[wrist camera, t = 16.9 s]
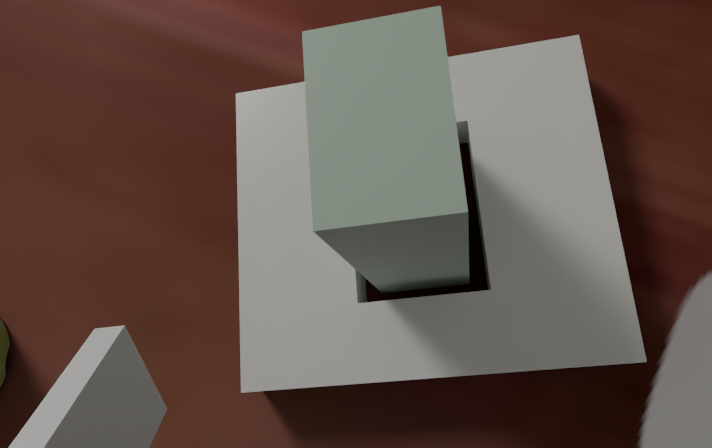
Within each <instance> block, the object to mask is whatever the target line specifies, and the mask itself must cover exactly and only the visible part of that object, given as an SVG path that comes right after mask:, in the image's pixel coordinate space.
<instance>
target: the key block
mask: <svg viewBox="0 0 712 448" xmlns="http://www.w3.org/2000/svg"><path fill="white" fill-rule="evenodd" d="M302 40H303V58H304V76H305V94H306V112H307V130H308V149H309V167H310V185H311V203H312V221H313V232H314V233H316V234H317V235H318V236H319V237H320V238H321V239H322V240H323V241H325V242H326V243H327V244H328V245H329V246H330V247H331V248H332V249H333V250H335V251H336V252H337V253H338V254H339V255H340V256H341V257H342V258H344V259H345V260H346V261H347V262H348V263H349V264H350V265H351V266H353V267H354V268H355V269H356V270H357V271H358V272H359V273H360V274H362V275H363V276H364V277H365V278H366V279H367V280H368V281H369V282H370V283H372V284H373V285H374V286H375V287H376V288H377V289H378V290H379V291H381V292H382V293H386V292H396V291H406V290H415V289H425V288H435V287H444V286H454V285H464V284H469V228H468V206H467V199H466V192H465V184H464V177H463V169H462V162H461V154H460V147H459V139H458V132H457V124H456V117H455V109H454V102H453V94H452V87H451V80H450V72H449V65H448V57H447V50H446V42H445V35H444V27H443V20H442V12H441V6H436V7H431V8H426V9H420V10H415V11H410V12H404V13H399V14H394V15H388V16H383V17H378V18H372V19H367V20H362V21H356V22H351V23H346V24H340V25H335V26H330V27H324V28H319V29H314V30H308V31H303V32H302Z"/></svg>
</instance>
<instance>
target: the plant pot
mask: <svg viewBox="0 0 712 448" xmlns="http://www.w3.org/2000/svg"><path fill="white" fill-rule="evenodd" d="M9 347H10V340H9V335H8V333H7V330H6V327H5V325H4V323H3V322H2V320H1V319H0V388H1V386H2V384H3V382H4V379H5V377H6V370H5V365H6V358H7V353H8V350H9Z"/></svg>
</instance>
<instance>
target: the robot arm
mask: <svg viewBox="0 0 712 448" xmlns="http://www.w3.org/2000/svg"><path fill="white" fill-rule="evenodd" d="M166 411H167V408H166V406H165V404H164V402H163V400H162V398H161V396H160V394H159V392H158V390H157V388H156V386H155V384H154V382H153V380H152V378H151V376H150V374H149V372H148V370H147V368H146V366H145V364H144V362H143V360H142V358H141V356H140V355H139V353H138V351H137V349H136V347H135V345H134V343H133V341H132V339H131V337H130V335H129V333H128V331H127V329H126V327H125V325H124V326H115V327H105V328H96V329H94V330H93V332H92V333H91V334H90V336H89V337H88V338H87V340H86V341H85V343H84V344H83V345H82V347H81V348H80V350H79V351H78V352H77V354H76V355H75V356H74V358H73V359H72V361H71V362H70V363H69V365H68V366H67V367H66V369H65V370H64V372H63V373H62V374H61V376H60V377H59V378H58V380H57V381H56V383H55V384H54V385H53V387H52V388H51V389H50V391H49V392H48V394H47V395H46V396H45V398H44V399H43V400H42V402H41V403H40V405H39V406H38V407H37V409H36V410H35V412H34V413H33V414H32V416H31V417H30V418H29V420H28V421H27V423H26V424H25V425H24V427H23V428H22V429H21V431H20V432H19V434H18V435H17V436H16V438H15V439H14V440H13V442H12V443H11V445H10V446H9V447H8V448H149V447H150V445H151V443H152V440H153V438H154V436H155V434H156V432H157V430H158V428H159V426H160V423H161V421H162V419H163V417H164V415H165V413H166Z"/></svg>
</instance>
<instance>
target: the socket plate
mask: <svg viewBox="0 0 712 448" xmlns="http://www.w3.org/2000/svg"><path fill="white" fill-rule="evenodd" d="M448 65H449V72H450V80H451V87H452V94H453V102H454V109H455V117H456V124H457V132H458V139H459V144H462V143H468V148H469V156H470V163H471V170H472V177H473V185H474V192H475V199H476V206H477V213H478V221H479V228H480V235H481V242H482V250H483V257H484V264H485V271H486V279H487V286H488V290H484V291H474V292H464V293H455V294H445V295H435V296H425V297H415V298H405V299H395V300H385V301H375V302H367V291H366V278H365V277H364V276H363V275H362V274H360V273H359V272H358V271H357V270H356V269H355V268H354V267H353V266H351V265H350V264H349V263H348V262H347V261H346V260H345V259H344V258H342V257H341V256H340V255H339V254H338V253H337V252H336V251H335V250H333V249H332V248H331V247H330V246H329V245H328V244H327V243H326V242H325V241H323V240H322V239H321V238H320V237H319V236H318V235H317V234H316V233H314V232H313V221H312V203H311V185H310V167H309V149H308V130H307V112H306V94H305V82H300V83H295V84H289V85H283V86H277V87H271V88H265V89H260V90H254V91H248V92H242V93H236V135H237V192H238V249H239V306H240V363H241V393H245V392H258V391H271V390H284V389H297V388H311V387H324V386H337V385H350V384H364V383H377V382H390V381H403V380H416V379H430V378H443V377H456V376H469V375H483V374H496V373H509V372H522V371H535V370H549V369H562V368H575V367H588V366H601V365H615V364H628V363H641V362H647V360H646V355H645V350H644V346H643V341H642V336H641V331H640V326H639V321H638V317H637V312H636V307H635V302H634V297H633V293H632V288H631V283H630V278H629V273H628V269H627V264H626V259H625V254H624V249H623V244H622V240H621V235H620V230H619V225H618V220H617V216H616V211H615V206H614V201H613V196H612V192H611V187H610V182H609V177H608V172H607V168H606V163H605V158H604V153H603V148H602V143H601V139H600V134H599V129H598V124H597V119H596V115H595V110H594V105H593V100H592V95H591V91H590V86H589V81H588V76H587V71H586V66H585V62H584V57H583V52H582V47H581V42H580V38H579V35H575V36H569V37H563V38H557V39H552V40H546V41H540V42H534V43H528V44H522V45H517V46H511V47H505V48H499V49H493V50H487V51H482V52H476V53H470V54H464V55H458V56H452V57H448Z"/></svg>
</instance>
